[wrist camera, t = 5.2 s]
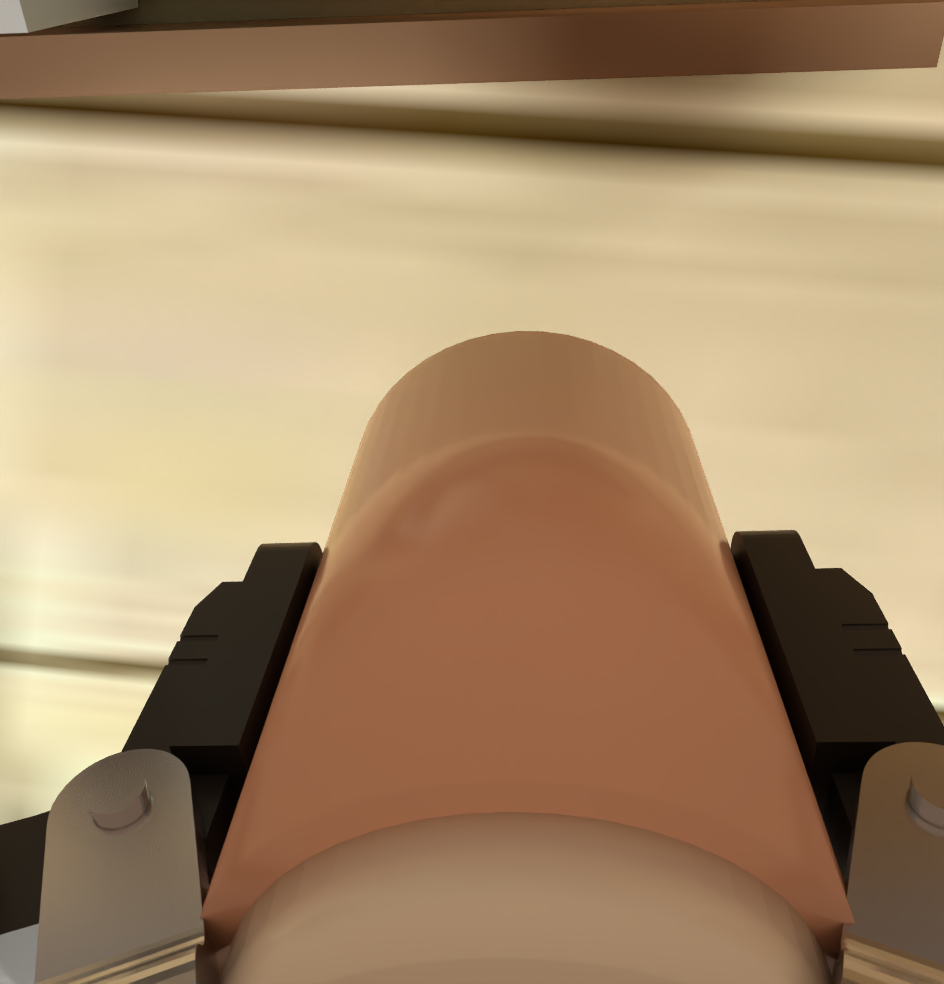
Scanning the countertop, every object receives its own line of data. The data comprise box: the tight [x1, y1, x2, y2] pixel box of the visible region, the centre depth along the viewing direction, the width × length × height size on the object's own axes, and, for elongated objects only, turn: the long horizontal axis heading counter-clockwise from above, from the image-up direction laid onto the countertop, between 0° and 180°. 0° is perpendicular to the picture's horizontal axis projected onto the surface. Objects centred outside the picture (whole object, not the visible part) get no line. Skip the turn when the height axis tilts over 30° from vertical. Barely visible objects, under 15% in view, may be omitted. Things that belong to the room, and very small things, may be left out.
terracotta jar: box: [200, 331, 855, 984], centre depth 10 cm, size 5×5×9 cm
